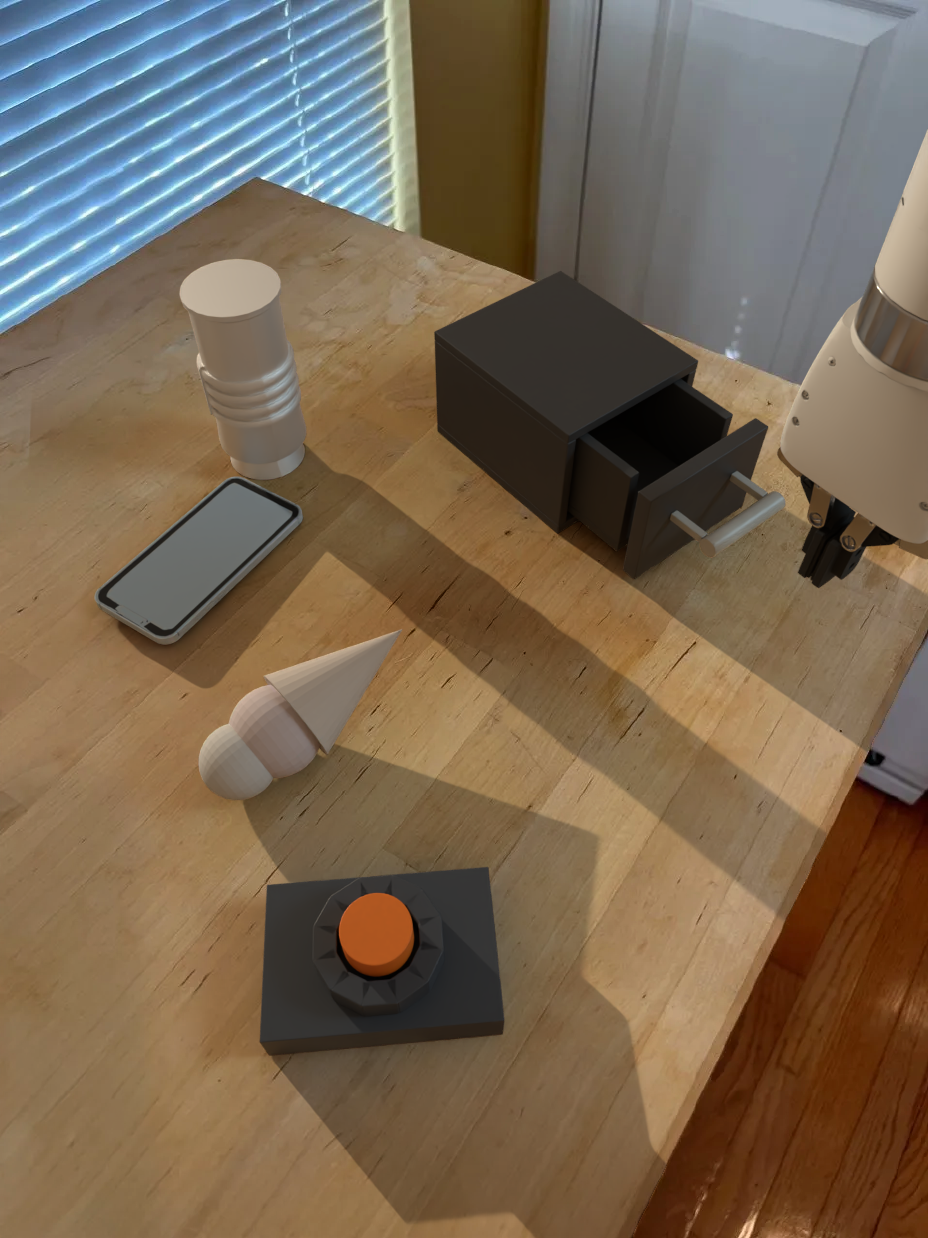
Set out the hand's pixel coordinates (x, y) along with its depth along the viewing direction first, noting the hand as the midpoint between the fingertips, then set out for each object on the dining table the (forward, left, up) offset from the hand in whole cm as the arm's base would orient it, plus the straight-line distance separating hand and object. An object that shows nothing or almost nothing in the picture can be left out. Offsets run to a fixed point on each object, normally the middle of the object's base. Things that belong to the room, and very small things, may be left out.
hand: (822, 570), depth 59 cm
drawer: (+8, -12, -6) cm, 16 cm away
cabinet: (+14, -20, -7) cm, 25 cm away
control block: (+29, +20, -7) cm, 35 cm away
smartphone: (+41, -10, -7) cm, 42 cm away
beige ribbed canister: (+37, -21, -7) cm, 43 cm away
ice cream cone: (+33, +5, -7) cm, 34 cm away
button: (+29, +20, -3) cm, 35 cm away
